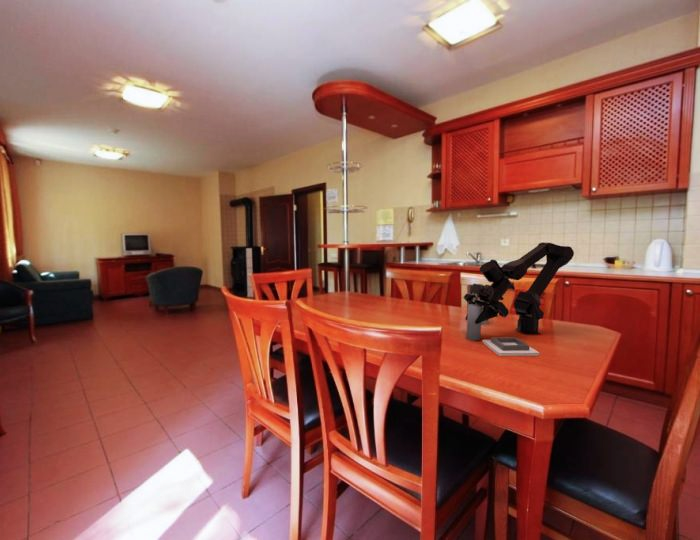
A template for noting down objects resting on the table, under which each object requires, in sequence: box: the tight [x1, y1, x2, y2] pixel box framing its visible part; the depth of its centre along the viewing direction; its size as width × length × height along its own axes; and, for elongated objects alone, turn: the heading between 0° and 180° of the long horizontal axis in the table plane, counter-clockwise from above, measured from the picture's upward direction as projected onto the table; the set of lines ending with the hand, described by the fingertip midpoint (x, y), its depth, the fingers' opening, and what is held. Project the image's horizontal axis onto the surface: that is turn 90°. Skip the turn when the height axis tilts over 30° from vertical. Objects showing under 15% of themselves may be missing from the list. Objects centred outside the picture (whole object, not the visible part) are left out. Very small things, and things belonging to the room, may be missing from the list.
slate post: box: [466, 304, 482, 342], centre depth 122 cm, size 5×5×12 cm
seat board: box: [481, 336, 540, 357], centre depth 112 cm, size 13×13×2 cm
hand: (470, 321), depth 122 cm, fingers closed on slate post, 5 cm apart
